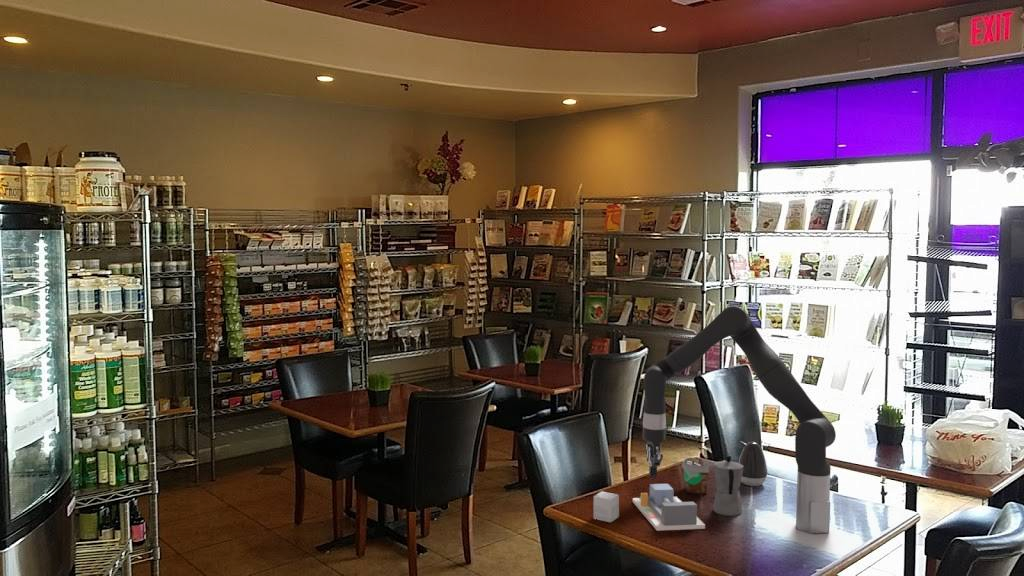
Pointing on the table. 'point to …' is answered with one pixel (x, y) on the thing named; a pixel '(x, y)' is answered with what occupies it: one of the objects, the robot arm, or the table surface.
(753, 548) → the table surface
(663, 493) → the plunger
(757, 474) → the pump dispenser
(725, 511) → the coffeepot
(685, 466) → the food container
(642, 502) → the block
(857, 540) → the table surface
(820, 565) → the table surface
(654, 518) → the bench
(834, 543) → the table surface
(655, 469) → the robot arm
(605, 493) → the skincare box
